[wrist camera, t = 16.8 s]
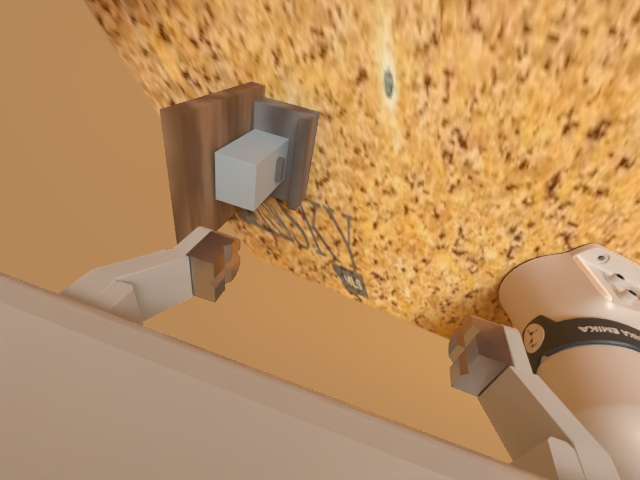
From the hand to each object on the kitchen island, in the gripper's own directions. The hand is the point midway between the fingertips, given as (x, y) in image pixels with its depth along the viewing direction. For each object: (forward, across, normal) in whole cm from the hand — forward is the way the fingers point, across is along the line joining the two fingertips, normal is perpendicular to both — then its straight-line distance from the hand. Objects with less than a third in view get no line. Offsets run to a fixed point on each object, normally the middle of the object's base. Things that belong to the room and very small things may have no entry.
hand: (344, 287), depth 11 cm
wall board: (+34, +15, +10) cm, 39 cm away
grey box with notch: (+31, +15, +10) cm, 36 cm away
